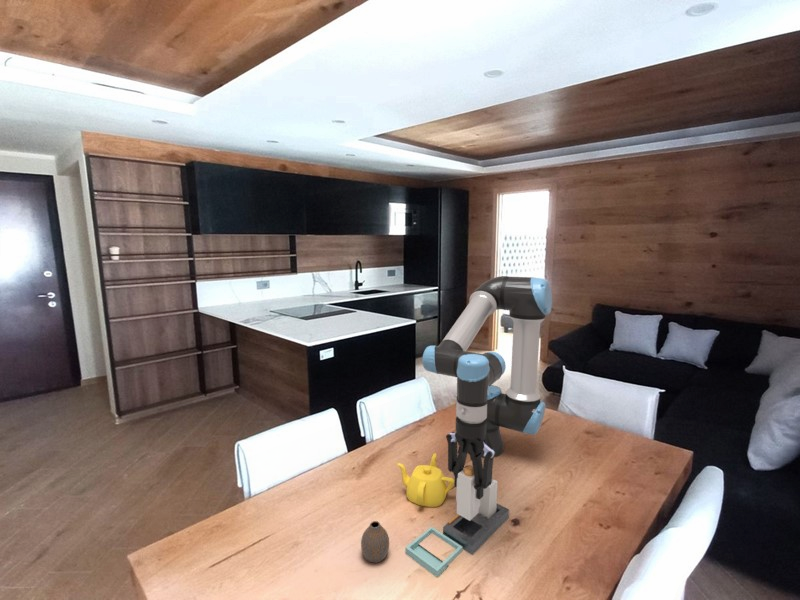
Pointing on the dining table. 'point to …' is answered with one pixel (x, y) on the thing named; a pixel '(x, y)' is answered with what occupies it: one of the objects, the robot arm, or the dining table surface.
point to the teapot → (426, 484)
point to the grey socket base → (474, 529)
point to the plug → (466, 493)
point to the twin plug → (489, 500)
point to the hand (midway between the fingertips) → (468, 503)
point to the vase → (375, 542)
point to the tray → (428, 558)
